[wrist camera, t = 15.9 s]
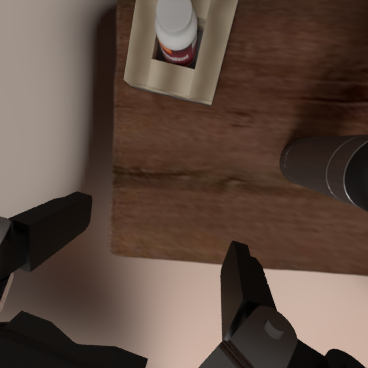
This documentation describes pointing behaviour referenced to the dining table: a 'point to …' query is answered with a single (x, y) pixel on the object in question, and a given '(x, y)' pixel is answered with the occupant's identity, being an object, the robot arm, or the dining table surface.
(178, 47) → the pill bottle
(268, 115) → the dining table surface
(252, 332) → the robot arm
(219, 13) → the socket block
